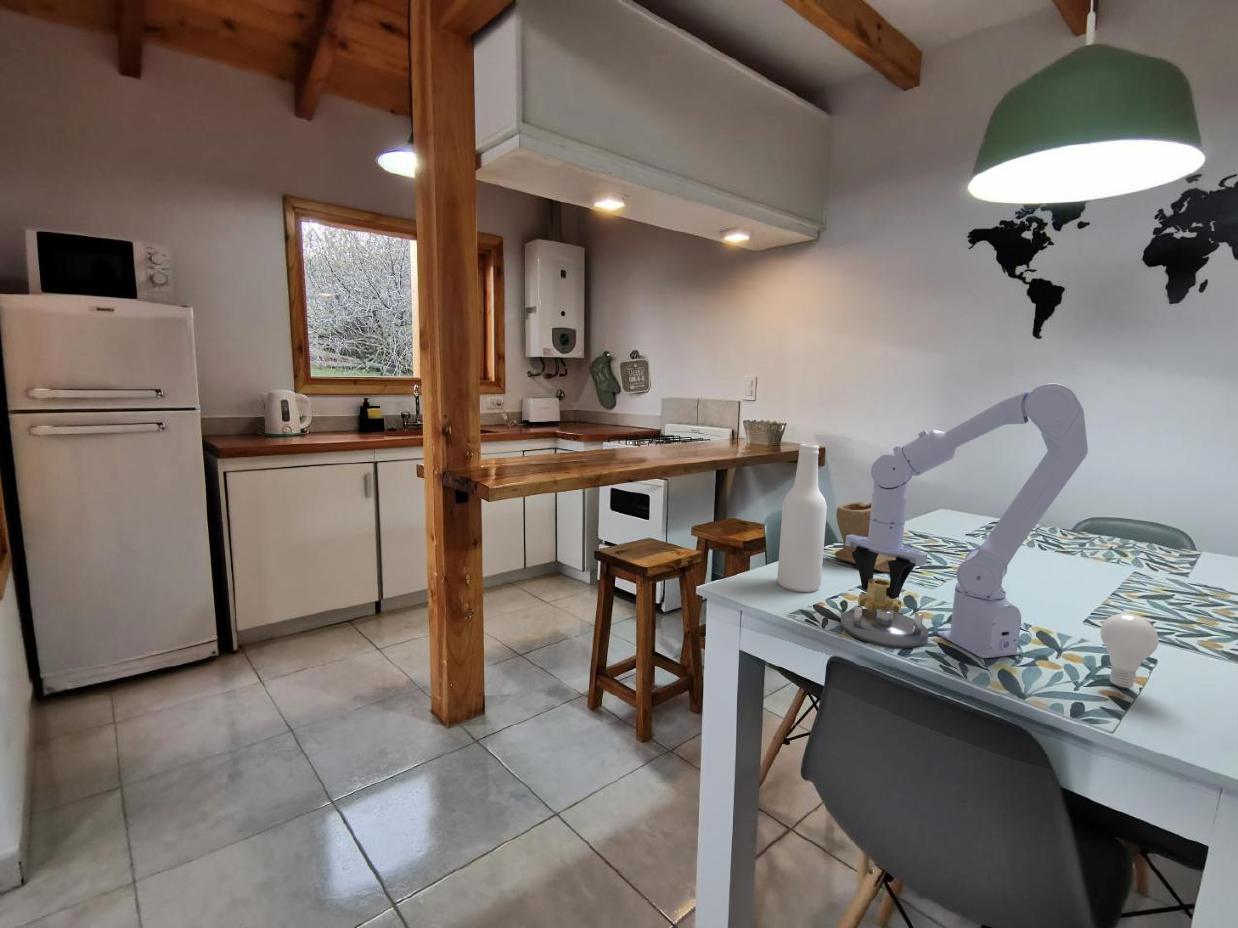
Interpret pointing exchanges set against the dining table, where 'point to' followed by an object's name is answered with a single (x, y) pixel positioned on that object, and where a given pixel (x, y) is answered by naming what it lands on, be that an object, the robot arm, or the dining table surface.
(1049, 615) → the dining table surface
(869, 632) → the carrier
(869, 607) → the planet gear
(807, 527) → the alcohol
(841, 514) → the stone cup
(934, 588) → the dining table surface
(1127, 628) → the lightbulb
